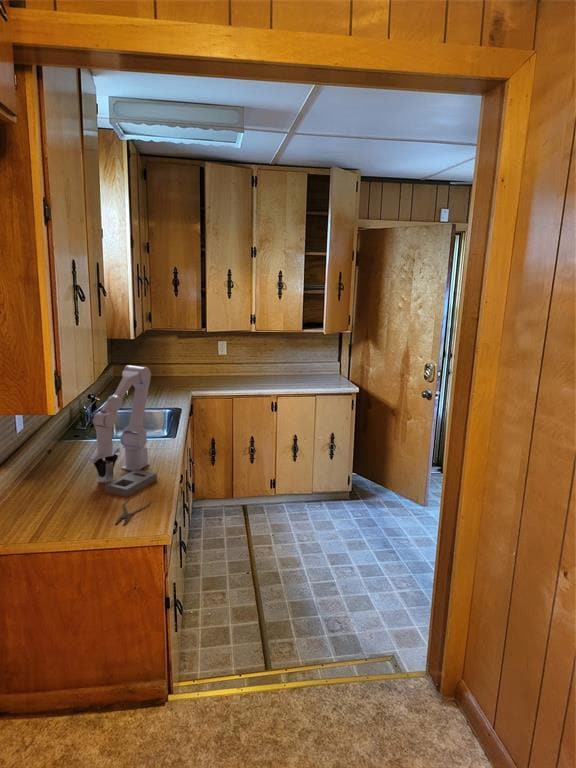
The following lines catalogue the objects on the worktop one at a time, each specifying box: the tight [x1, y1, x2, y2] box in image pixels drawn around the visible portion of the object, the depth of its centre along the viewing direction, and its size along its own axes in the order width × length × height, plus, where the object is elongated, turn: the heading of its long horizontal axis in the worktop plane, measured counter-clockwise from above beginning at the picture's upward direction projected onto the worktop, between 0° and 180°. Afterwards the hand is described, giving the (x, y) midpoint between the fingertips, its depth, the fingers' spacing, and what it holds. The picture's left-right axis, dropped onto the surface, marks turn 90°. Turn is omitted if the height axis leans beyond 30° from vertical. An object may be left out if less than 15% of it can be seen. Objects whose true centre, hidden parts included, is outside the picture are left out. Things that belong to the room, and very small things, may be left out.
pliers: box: [115, 498, 153, 527], centre depth 169 cm, size 10×1×20 cm
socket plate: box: [104, 469, 158, 498], centre depth 189 cm, size 18×10×3 cm, turn 158°
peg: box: [97, 459, 115, 485], centre depth 192 cm, size 4×4×8 cm
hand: (105, 474), depth 192 cm, fingers closed on peg, 4 cm apart
